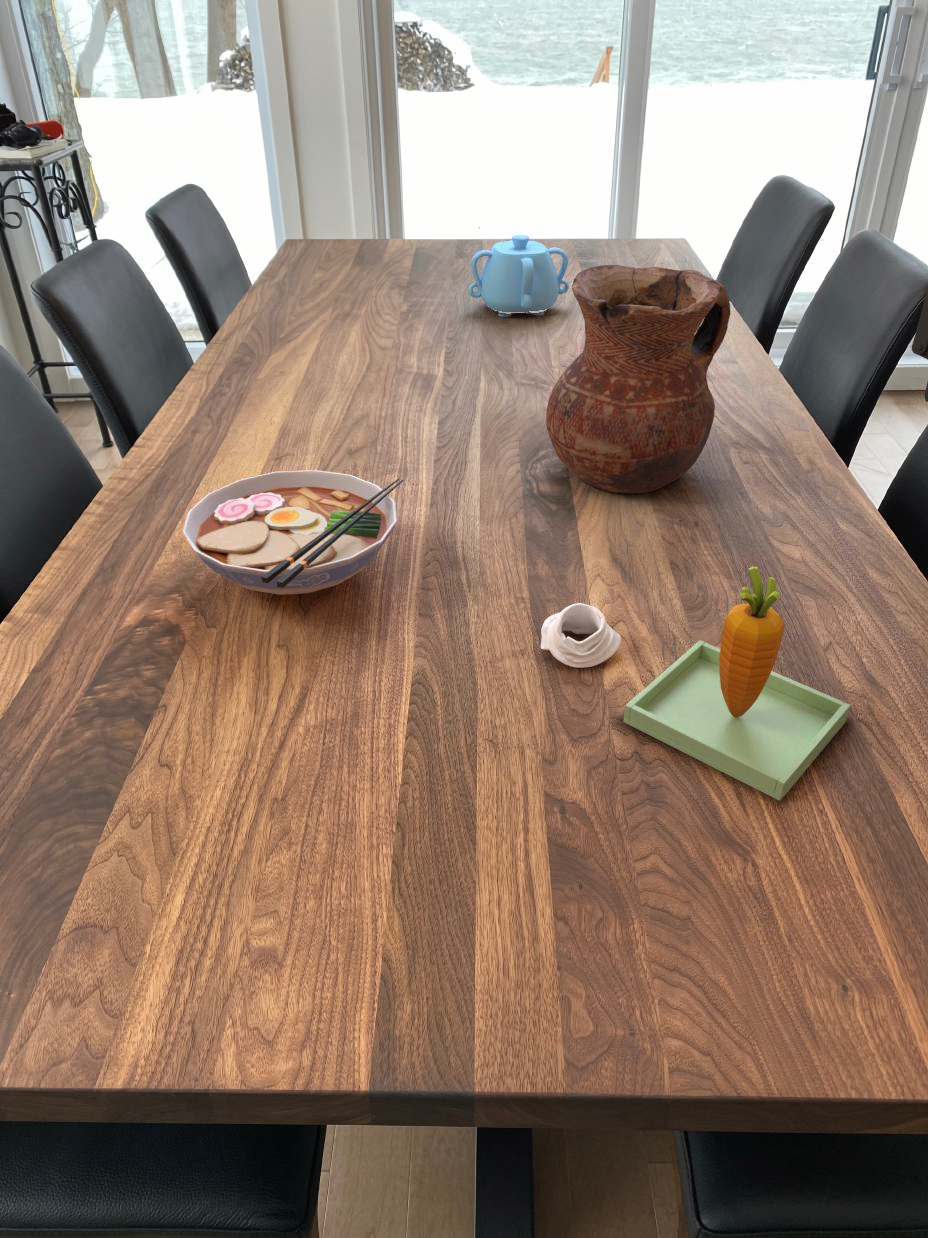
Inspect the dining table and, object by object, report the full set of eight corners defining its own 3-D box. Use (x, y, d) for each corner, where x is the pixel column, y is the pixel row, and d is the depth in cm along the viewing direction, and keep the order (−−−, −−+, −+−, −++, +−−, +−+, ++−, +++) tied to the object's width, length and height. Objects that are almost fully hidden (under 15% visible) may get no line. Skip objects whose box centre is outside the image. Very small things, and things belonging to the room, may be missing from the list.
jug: (639, 526, 118) (663, 319, 104) (510, 473, 130) (516, 281, 116) (736, 468, 131) (769, 278, 117) (610, 425, 143) (626, 247, 129)
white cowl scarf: (615, 639, 100) (623, 597, 98) (621, 674, 94) (629, 630, 92) (538, 631, 100) (543, 589, 98) (539, 666, 94) (545, 622, 92)
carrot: (766, 737, 85) (799, 593, 77) (708, 731, 86) (735, 588, 78) (761, 702, 90) (792, 561, 81) (706, 696, 90) (731, 556, 82)
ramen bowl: (281, 505, 122) (274, 445, 118) (441, 548, 114) (440, 484, 109) (141, 602, 104) (126, 535, 99) (318, 662, 95) (311, 591, 91)
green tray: (846, 722, 88) (850, 704, 87) (779, 801, 80) (784, 783, 79) (696, 656, 96) (699, 639, 95) (623, 722, 88) (625, 705, 87)
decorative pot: (577, 309, 190) (582, 235, 182) (522, 327, 180) (525, 251, 172) (514, 292, 199) (517, 222, 191) (459, 309, 189) (459, 235, 182)
